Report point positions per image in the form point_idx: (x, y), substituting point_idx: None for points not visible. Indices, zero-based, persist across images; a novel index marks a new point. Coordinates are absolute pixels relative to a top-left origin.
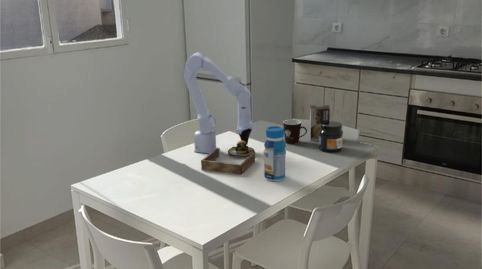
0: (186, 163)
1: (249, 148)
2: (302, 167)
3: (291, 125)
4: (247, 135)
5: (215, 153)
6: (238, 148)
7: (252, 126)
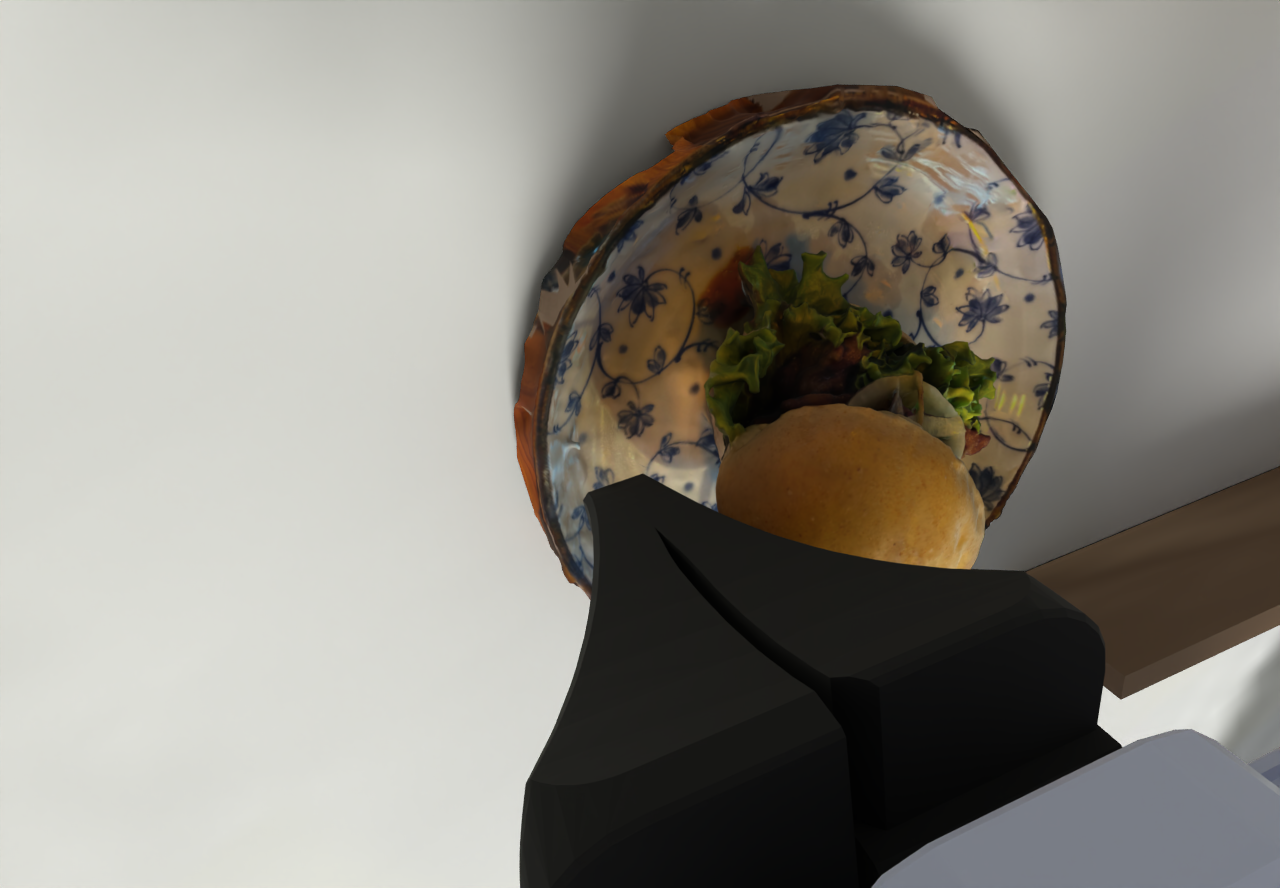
0: (1238, 678)
1: (563, 391)
2: None
3: None
4: (901, 566)
5: (1192, 595)
6: (975, 440)
7: (1271, 853)
